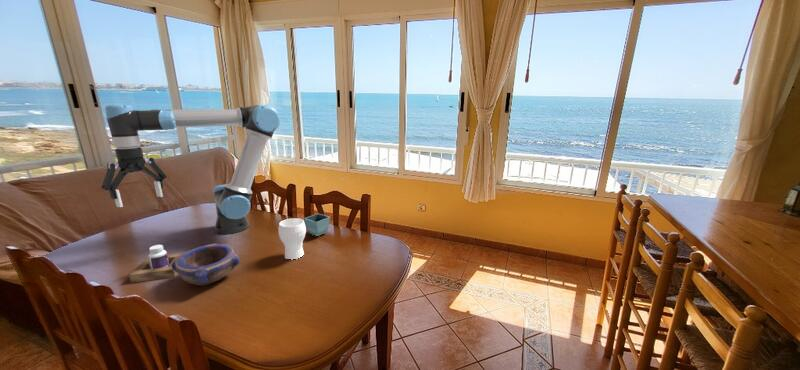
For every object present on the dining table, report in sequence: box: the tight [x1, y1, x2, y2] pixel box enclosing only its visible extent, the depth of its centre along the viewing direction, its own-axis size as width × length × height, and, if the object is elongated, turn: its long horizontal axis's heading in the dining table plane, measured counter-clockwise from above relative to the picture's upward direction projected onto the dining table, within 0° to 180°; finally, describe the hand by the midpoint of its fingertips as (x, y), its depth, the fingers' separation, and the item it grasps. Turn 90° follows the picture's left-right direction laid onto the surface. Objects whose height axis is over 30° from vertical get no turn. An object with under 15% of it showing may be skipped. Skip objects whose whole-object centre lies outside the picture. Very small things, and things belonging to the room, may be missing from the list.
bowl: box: [172, 243, 241, 286], centre depth 107 cm, size 18×18×10 cm
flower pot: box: [303, 213, 331, 237], centre depth 145 cm, size 9×9×9 cm
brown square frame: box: [128, 252, 186, 284], centre depth 112 cm, size 13×13×3 cm
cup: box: [277, 217, 307, 261], centre depth 123 cm, size 11×11×15 cm
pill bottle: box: [147, 244, 169, 269], centre depth 112 cm, size 5×5×10 cm
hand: (141, 201), depth 117 cm, fingers open, 13 cm apart
